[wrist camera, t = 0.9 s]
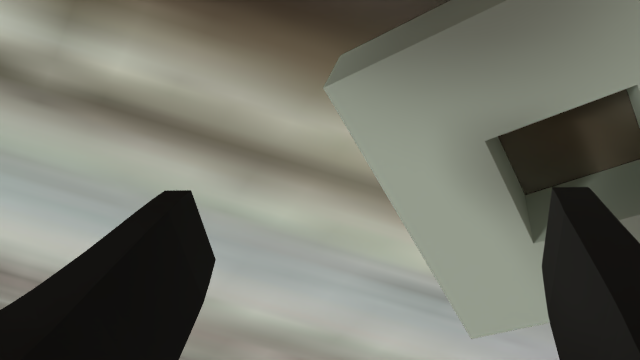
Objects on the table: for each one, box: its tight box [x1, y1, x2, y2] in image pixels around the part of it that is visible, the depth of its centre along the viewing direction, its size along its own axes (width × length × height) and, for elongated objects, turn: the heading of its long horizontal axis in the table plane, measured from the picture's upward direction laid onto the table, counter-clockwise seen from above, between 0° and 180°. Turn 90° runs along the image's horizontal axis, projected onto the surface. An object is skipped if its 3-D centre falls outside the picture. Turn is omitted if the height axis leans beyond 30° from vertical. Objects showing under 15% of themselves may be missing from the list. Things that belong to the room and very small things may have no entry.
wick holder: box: [323, 0, 640, 339], centre depth 18 cm, size 12×12×3 cm
